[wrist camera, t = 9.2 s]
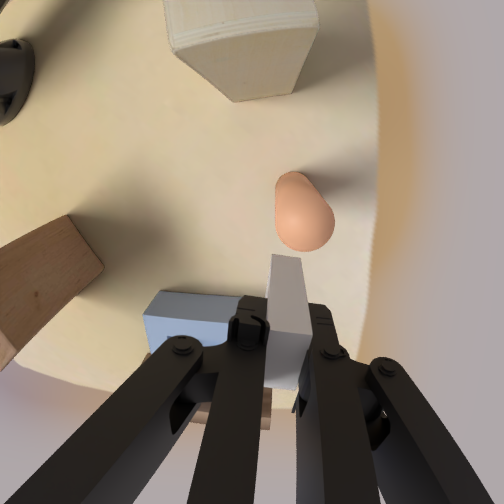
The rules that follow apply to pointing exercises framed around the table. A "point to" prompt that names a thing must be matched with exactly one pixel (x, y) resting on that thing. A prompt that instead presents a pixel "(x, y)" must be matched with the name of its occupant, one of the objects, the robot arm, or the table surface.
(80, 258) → the wooden block
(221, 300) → the socket block
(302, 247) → the dowel
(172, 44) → the toy refrigerator
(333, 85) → the table surface
